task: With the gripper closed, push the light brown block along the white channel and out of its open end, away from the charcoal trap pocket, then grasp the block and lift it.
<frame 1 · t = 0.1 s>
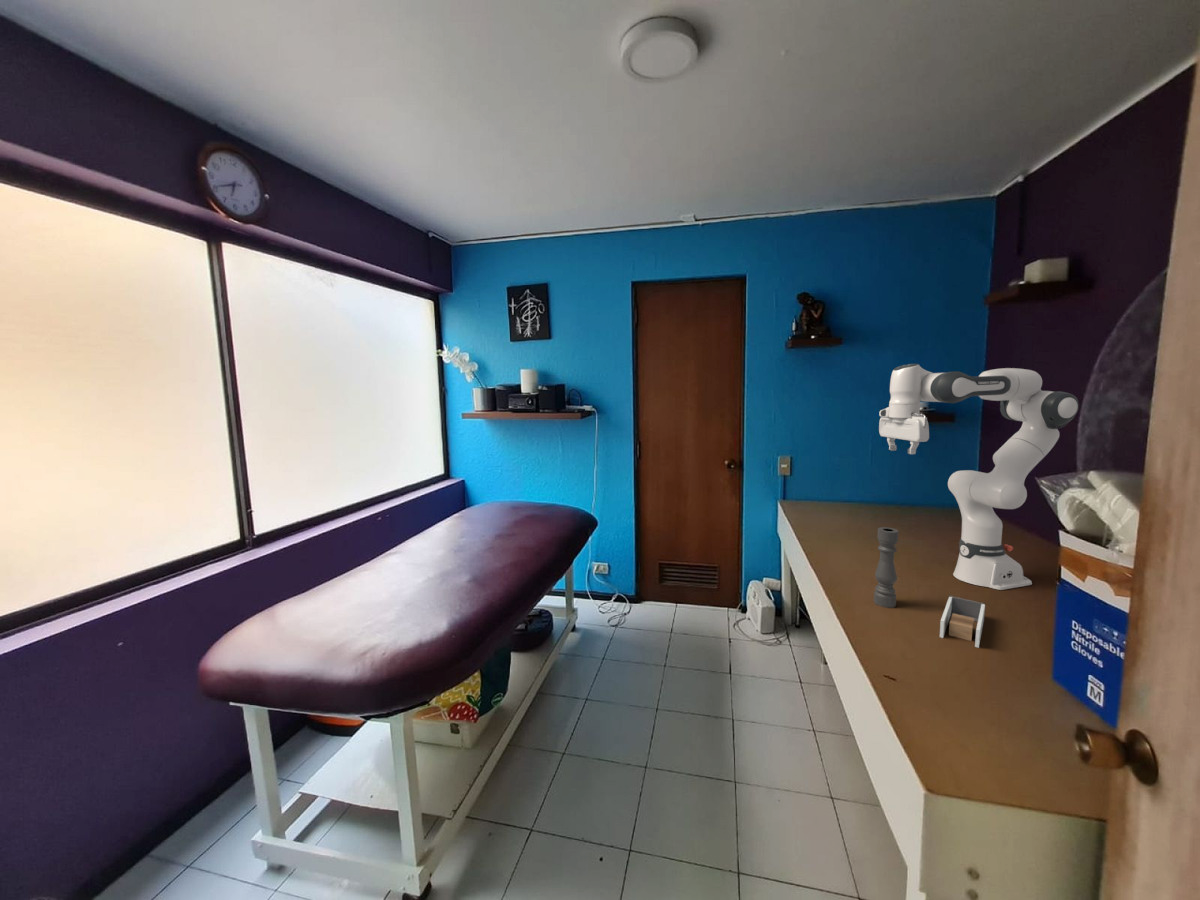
hand: (901, 452, 159), 48 cm above the table, fingers open, 8 cm apart
candle holder: (884, 603, 151), on the table
white channel: (962, 627, 134), on the table
light brown block: (961, 633, 132), resting in white channel
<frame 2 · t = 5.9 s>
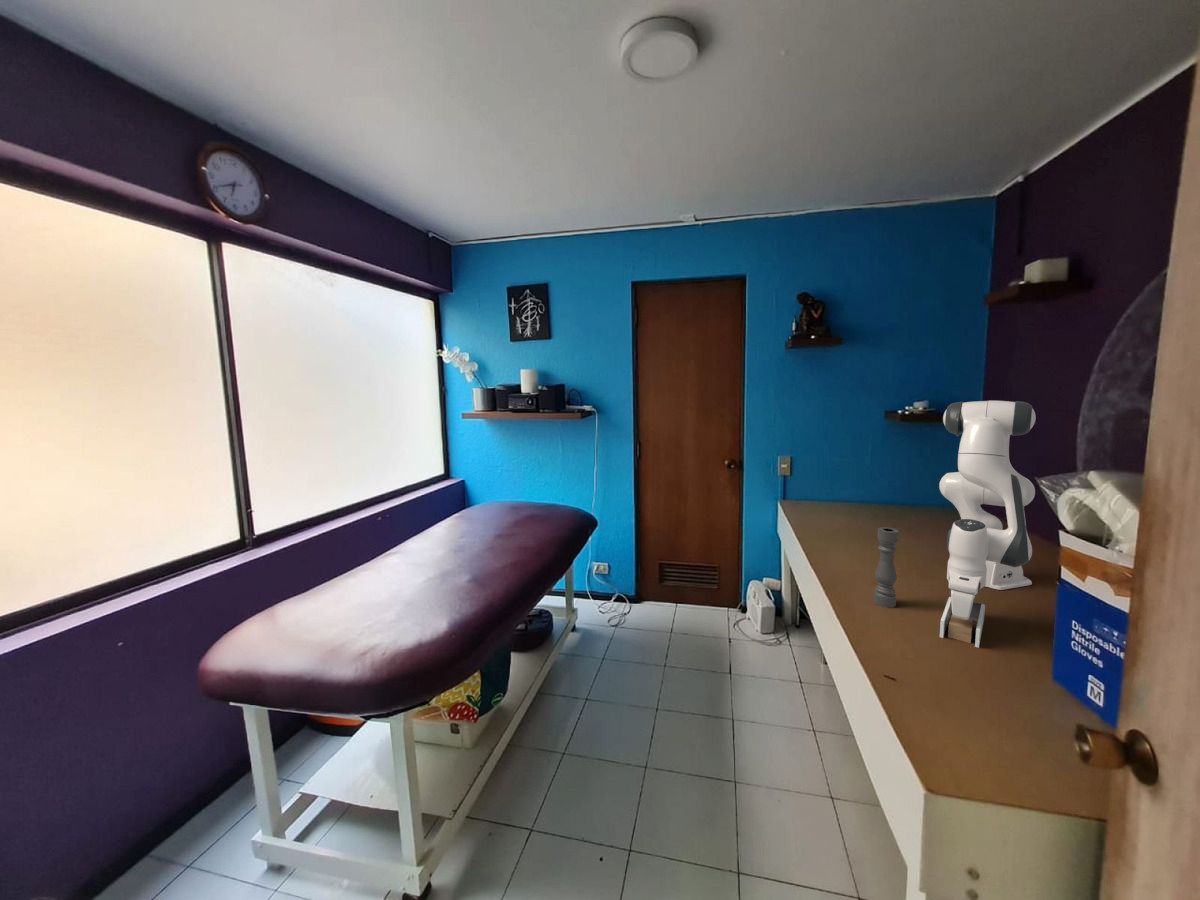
hand: (962, 621, 134), 2 cm above the table, fingers closed
light brown block: (960, 634, 131), resting in white channel, touching gripper
everything else where it was.
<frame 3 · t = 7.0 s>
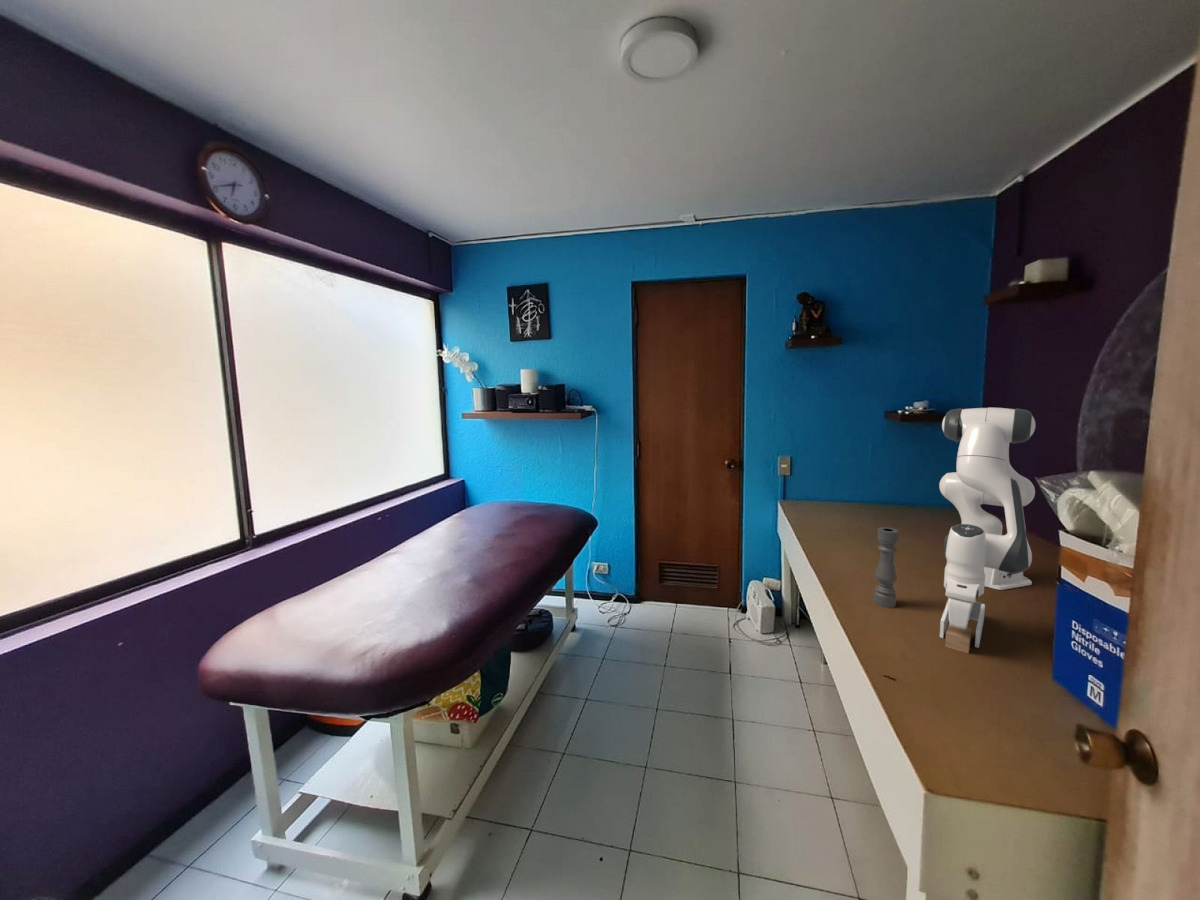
hand: (960, 629, 129), 2 cm above the table, fingers closed
light brown block: (957, 644, 126), on the table, touching gripper
everything else where it was.
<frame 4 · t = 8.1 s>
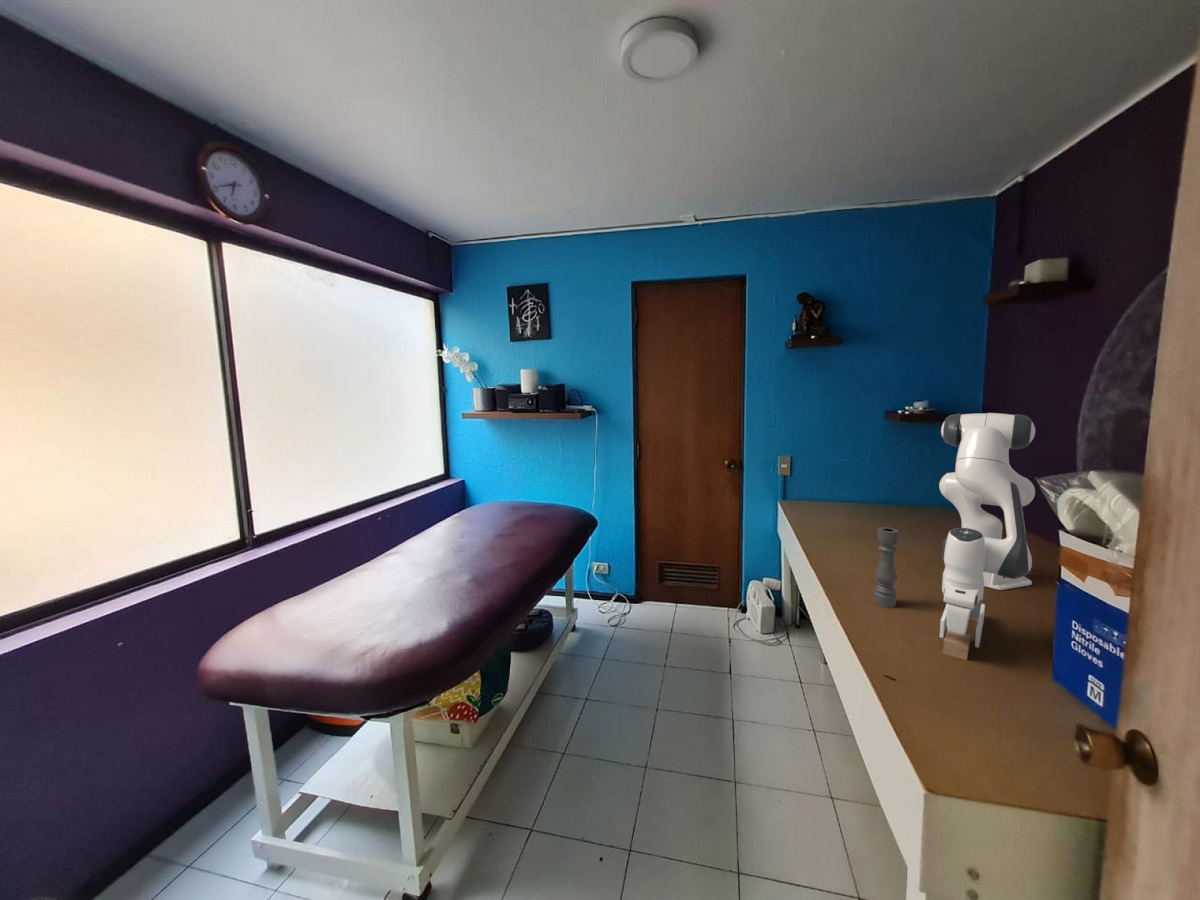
hand: (959, 636, 126), 2 cm above the table, fingers closed
light brown block: (956, 651, 123), on the table, touching gripper
everything else where it was.
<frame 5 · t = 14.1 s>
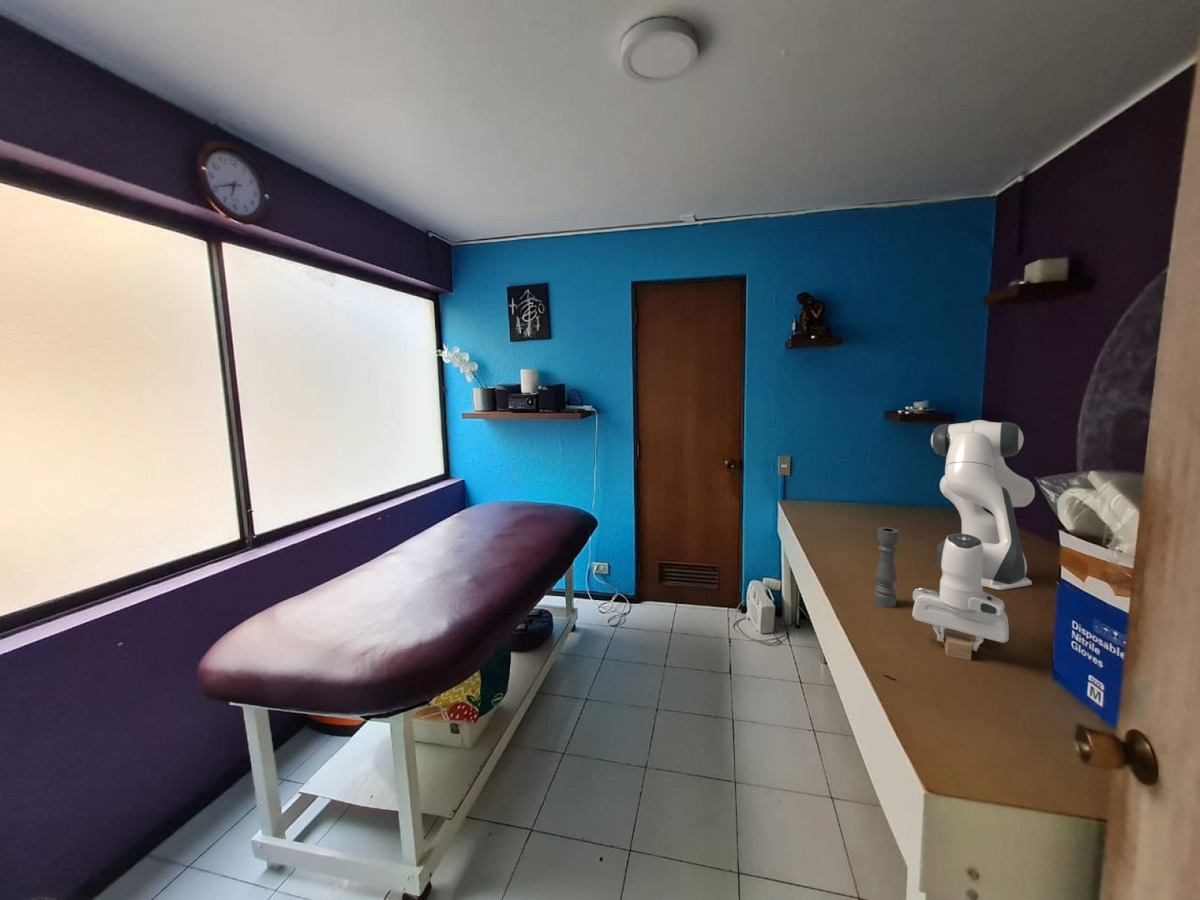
hand: (956, 645, 123), 2 cm above the table, fingers closed on light brown block, 6 cm apart
light brown block: (956, 651, 123), on the table, touching gripper
everything else where it was.
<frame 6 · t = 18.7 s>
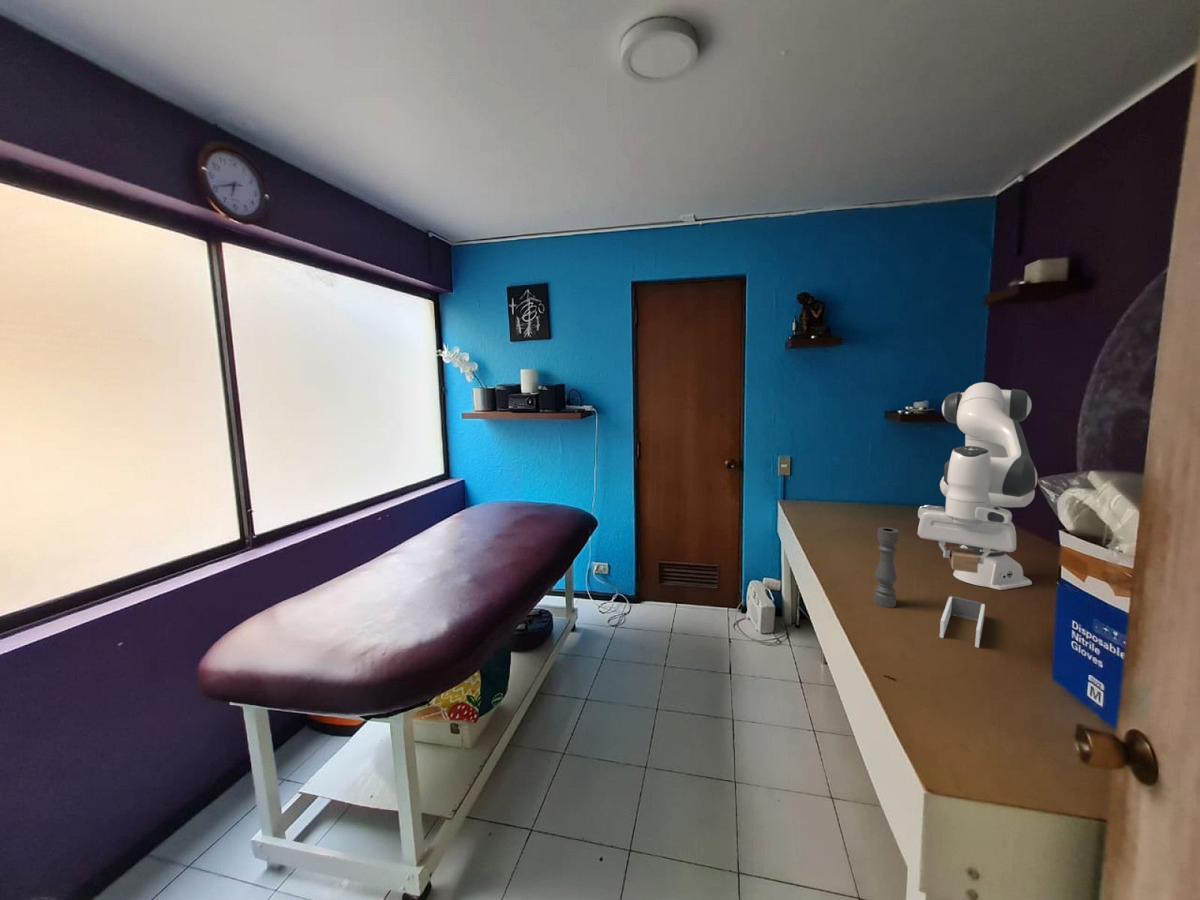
hand: (963, 560, 121), 25 cm above the table, fingers closed on light brown block, 5 cm apart
light brown block: (962, 566, 121), point 23 cm above the table, touching gripper
everything else where it was.
at the end: the gripper is holding light brown block; light brown block inside the target area on the white channel (2.9 cm from its centre), point 23.3 cm above the white channel's base; light brown block moved 25.6 cm from its start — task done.
